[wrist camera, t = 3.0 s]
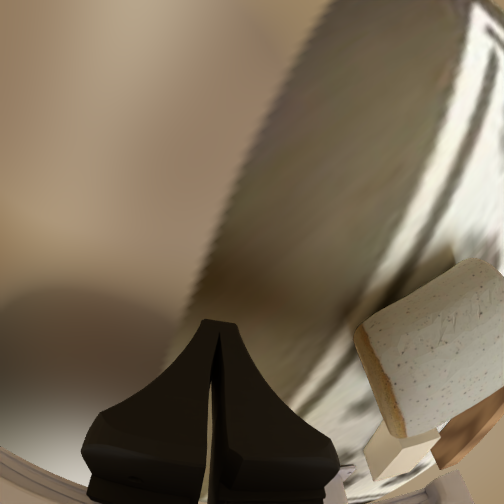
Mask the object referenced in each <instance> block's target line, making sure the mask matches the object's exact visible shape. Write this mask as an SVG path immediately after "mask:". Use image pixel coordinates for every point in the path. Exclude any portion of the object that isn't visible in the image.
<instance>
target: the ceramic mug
mask: <svg viewBox="0 0 504 504" xmlns="http://www.w3.org/2000/svg"><path fill="white" fill-rule="evenodd" d="M353 340H354V344H355V347H356V349H357V352H358V355H359V357H360V360H361V362H362V365H363V368H364V370H365V373H366V375H367V378H368V380H369V383H370V386H371V388H372V391H373V393H374V396H375V398H376V401H377V404H378V406H379V409H380V412H381V414H382V417H383V419H384V421H385V424H386V426H387V429H388V431H389V433H390V435H392V436H393V437H395V438H399V439H402V438H407V437H412V436H415V435H419V434H422V433H425V432H427V431H429V430H432V429H434V428H436V427H437V426H439V425H441V424H443V423H445V422H446V421H448V420H450V419H452V418H453V417H455V416H457V415H458V414H460V413H462V412H464V411H465V410H467V409H469V408H471V407H472V406H474V405H475V404H477V403H479V402H480V401H482V400H483V399H485V398H487V397H488V396H490V395H491V394H493V393H494V392H496V391H497V390H499V389H500V388H502V387H503V386H504V277H503V276H502V275H501V273H500V272H499V271H498V270H497V269H495V268H494V267H493V266H492V265H491V264H489V263H487V262H485V261H483V260H481V259H477V258H468V259H465V260H463V261H461V262H459V263H458V264H456V265H455V266H454V267H452V268H451V269H449V270H448V271H446V272H445V273H443V274H441V275H440V276H438V277H437V278H435V279H433V280H432V281H430V282H429V283H427V284H425V285H424V286H422V287H420V288H419V289H417V290H416V291H414V292H413V293H411V294H409V295H408V296H406V297H404V298H402V299H400V300H399V301H397V302H395V303H393V304H391V305H389V306H387V307H385V308H384V309H382V310H380V311H378V312H376V313H375V314H373V315H372V316H371V317H369V318H368V319H367V320H365V321H364V322H363V323H362V324H361V325H360V326H359V327H357V329H356V331H355V333H354V338H353Z"/></svg>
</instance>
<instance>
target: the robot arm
mask: <svg viewBox="0 0 504 504" xmlns="http://www.w3.org/2000/svg"><path fill="white" fill-rule="evenodd" d="M210 384H211V388H212V446H211V460H210V474H209V488H208V502H207V504H348V501H347V497H346V493H345V489H344V486H343V482H344V481H345V480H346V479H347V478H348V477H349V476H350V475H351V474H352V473H353V472H354V471H355V470H356V467H355V466H347V467H340V462H339V459H338V455H337V453H336V450H335V448H334V445H333V443H332V441H331V439H330V438H328V437H327V436H325V435H324V434H322V433H321V432H319V431H318V430H316V429H315V428H313V427H312V426H310V425H309V424H308V423H306V422H305V421H304V420H303V419H301V418H300V417H299V416H298V415H296V414H295V413H294V412H293V411H292V410H291V409H290V408H289V407H288V406H287V405H286V404H285V403H284V402H283V401H282V400H281V399H280V398H279V397H278V396H277V395H276V393H275V392H274V391H273V390H272V389H271V387H270V386H269V385H268V384H267V382H266V381H265V379H264V378H263V377H262V375H261V374H260V372H259V370H258V369H257V367H256V366H255V364H254V362H253V361H252V359H251V357H250V355H249V353H248V351H247V349H246V347H245V345H244V343H243V340H242V338H241V336H240V333H239V330H238V327H237V325H236V324H235V323H228V322H221V321H215V320H208V319H204V320H202V321H201V324H200V326H199V328H198V330H197V332H196V333H195V335H194V337H193V338H192V340H191V341H190V342H189V344H188V345H187V346H186V348H185V349H184V350H183V352H182V353H181V354H180V355H179V356H178V357H177V359H176V360H175V361H174V362H173V363H172V364H171V365H170V366H169V367H168V368H167V369H166V370H165V371H164V372H163V373H162V374H161V375H160V376H158V377H157V378H156V379H155V380H154V381H152V382H151V383H150V384H149V385H147V386H146V387H145V388H143V389H142V390H140V391H139V392H137V393H136V394H134V395H132V396H131V397H129V398H128V399H126V400H124V401H122V402H121V403H119V404H117V405H115V406H112V407H110V408H108V409H106V410H104V411H102V412H100V413H99V414H98V416H97V417H96V419H95V420H94V422H93V423H92V425H91V427H90V428H89V430H88V432H87V435H86V437H85V440H84V443H83V446H82V449H81V454H82V457H83V459H84V461H85V462H86V464H87V466H88V468H89V469H90V471H91V473H92V475H91V479H90V482H89V485H88V487H86V486H83V485H80V484H77V483H75V482H72V481H70V480H67V479H65V478H62V477H60V476H58V475H55V474H53V473H51V472H49V471H46V470H44V469H42V468H40V467H38V466H36V465H34V464H32V463H30V462H28V461H26V460H24V459H22V458H20V457H18V456H17V455H15V454H13V453H11V452H10V451H8V450H6V449H5V448H3V447H1V446H0V504H198V501H199V498H200V493H201V488H202V483H203V478H204V473H205V468H206V456H207V421H208V399H209V389H210ZM370 504H475V503H474V501H473V499H472V497H471V495H470V493H469V490H468V488H467V486H466V484H465V482H464V480H463V478H462V476H461V474H460V472H459V470H455V471H452V472H450V473H447V474H445V475H442V476H440V477H438V478H436V479H434V480H433V481H432V482H430V483H429V484H428V485H427V486H426V487H425V488H423V489H420V490H417V491H414V492H411V493H407V494H404V495H401V496H397V497H394V498H390V499H386V500H383V501H378V502H374V503H370Z"/></svg>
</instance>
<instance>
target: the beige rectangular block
mask: <svg viewBox="0 0 504 504" xmlns="http://www.w3.org/2000/svg"><path fill="white" fill-rule="evenodd" d="M440 438H441V436H440V434H439V432H438V431H437V429H436V428H434V429H432V430H429V431H427V432H425V433H422V434H419V435H415V436H412V437H407V438H402V439H399V438H395V437H393V436H392V435H390V433H389V431H388V429H387V426H386V424H385V421H384V419H383V421H382V423H381V424H380V426H379V427H378V429H377V430H376V432H375V434H374V435H373V437H372V438H371V440H370V441H369V443H368V444H367V445H366V447H365V448H364V450H363V452H364V455H365V458H366V460H367V463H368V466H369V469H370V472H371V475H372V478H373V481H378V480H382V479H386V478H390V477H393V476H397V475H400V474H403V473H407V472H410V471H411V470H412V469H413V468H414V467H415V466H416V465H417V463H418V462H419V461H420V460H421V459H422V458H423V457H424V456H425V455H426V454H427V453H428V452H429V450H430V449H431V448H432V447H433V446H434V445H435V444H436V442H437V441H438V440H439V439H440Z"/></svg>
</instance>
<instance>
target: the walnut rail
mask: <svg viewBox="0 0 504 504" xmlns="http://www.w3.org/2000/svg"><path fill="white" fill-rule="evenodd" d="M503 415H504V386H503V387H502V388H500V389H499V390H497V391H496V392H494V393H493V394H491V395H490V396H488V397H487V398H485V399H483V400H482V401H480V402H479V403H477V404H475V405H474V406H472V407H471V408H469V409H467V410H465V411H464V412H462V413H460V414H458V415H457V416H455V417H453V418H452V419H451V420H450V422H449V423H448V424H447V425H446V426H445V427H444V429H443V430H442V431H441V432H440V433H439V434H440V436H441V438H440V439H439V440H438V441H437V442H436V444H435V445H434V446H433V447H432V448H431V449H430V450H431V452H432V455H433V457H434V459H435V461H436V463H437V465H438V467H439V469H440V470H442V469H444V468H447V467H450V466H453V465H455V464H457V463H458V462H459V461H460V460H461V459H462V458H463V457H465V455H466V454H468V453H469V452H470V451H471V450H472V449H473V448H474V447H475V446H476V445H477V444H478V443H479V442H480V440H481V439H482V438H483V437H484V436H485V435H486V434H487V433H488V432H489V431H490V430H491V429H492V427H493V426H494V425H495V424H496V423H497V421H499V419H500V418H501V417H502V416H503Z"/></svg>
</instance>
